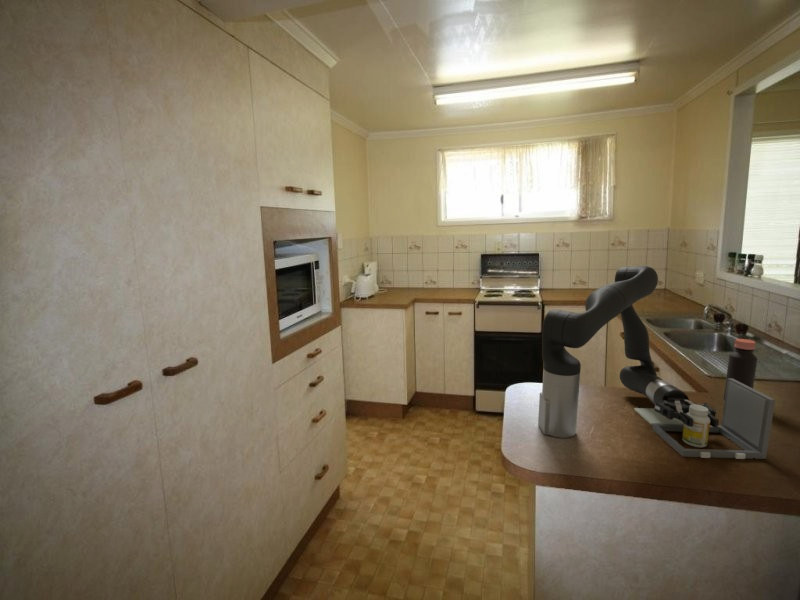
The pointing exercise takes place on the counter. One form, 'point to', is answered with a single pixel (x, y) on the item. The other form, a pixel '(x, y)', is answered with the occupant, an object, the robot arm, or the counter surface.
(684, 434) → the supplement bottle
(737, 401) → the access hatch
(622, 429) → the counter surface
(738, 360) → the vinegar
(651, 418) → the mat
